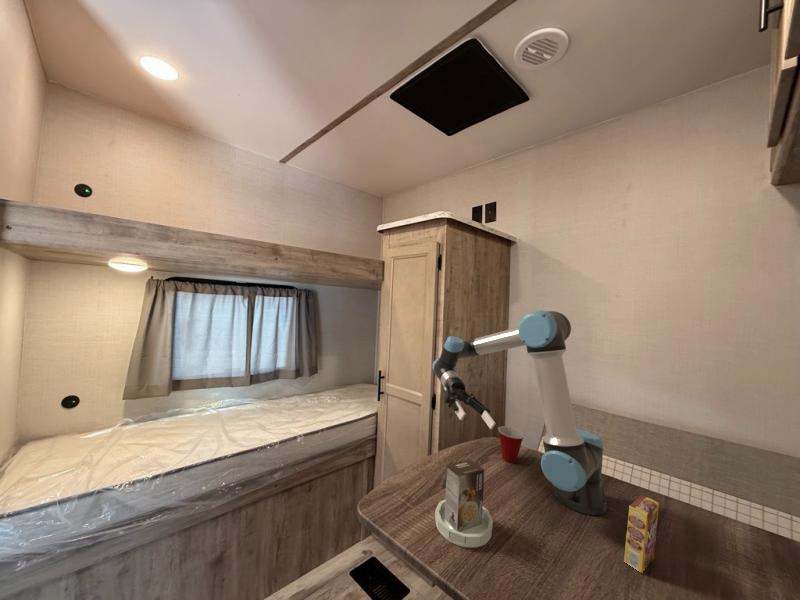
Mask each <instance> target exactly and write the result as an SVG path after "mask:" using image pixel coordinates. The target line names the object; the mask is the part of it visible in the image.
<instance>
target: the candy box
mask: <svg viewBox="0 0 800 600" xmlns="http://www.w3.org/2000/svg"><path fill="white" fill-rule="evenodd" d="M659 506H660V504H659V502H658V501H656V500H654V499H652V498H650V497H647V496H645V495H642V494H640V495H639V496H638V497H637V498H636V499H635V500H634V501H633V502H632V503H631V504H629V506H628V515H627V516H628V517H627V526H626V528H627V529H626V533H625V534H626V535H625V536H626V537H625V546H624V556H623V557H624V558H623V563H624V562H625V563H624V564H626V563H627V564H628V566H629V565H630V566H631V568H632V567H633V568H634V569H633V568H632V569H633V570H635V569H636V570H637V571H636V570H635V571H636V572H638V571H639V572H641V573H642V574H643V573H644V572H645V570H646V569H647V568H648V566H649V565H650V564H651V563H650V561H651V560H652V559H653V558H654V559H655V551H656V542H657V540H656V539H657V528H658V517H659V516H658V515H659ZM654 559H653V560H654ZM653 560H652V561H653ZM652 561H651V562H652ZM649 563H650V564H649ZM627 564H626V565H627ZM648 564H649V565H648ZM647 565H648V566H647ZM630 566H629V567H630ZM646 567H647V568H646ZM645 568H646V569H645ZM643 571H644V572H643ZM639 572H638V573H639ZM641 573H640V574H641Z"/></svg>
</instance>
